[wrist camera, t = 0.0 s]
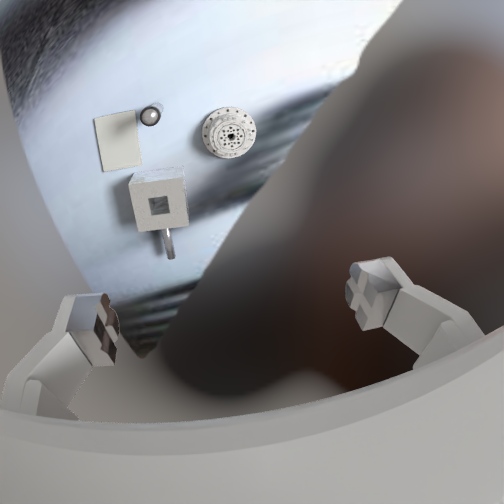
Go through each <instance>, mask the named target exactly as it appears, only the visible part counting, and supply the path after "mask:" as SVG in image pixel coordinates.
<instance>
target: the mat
mask: <svg viewBox="0 0 504 504" xmlns="http://www.w3.org/2000/svg"><path fill="white" fill-rule="evenodd" d="M95 126H96V132H97V138H98V144H99V149H100V155H101V160H102V165H103V170H104V172H106V171H111V170H117V169H123V168H129V167H135V166H141V165H142V158H141V151H140V144H139V137H138V129H137V121H136V112H135V110H132V111H126V112H121V113H116V114H111V115H107V116H102V117H98V118H95Z"/></svg>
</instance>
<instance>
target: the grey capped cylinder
mask: <svg viewBox="0 0 504 504" xmlns="http://www.w3.org/2000/svg"><path fill="white" fill-rule="evenodd" d="M162 111H163V106H162V104H160V103H154V104H153V105H151V106H148V107H146V108H145V109H144V110H143V111H142V112H141V114H140V120H141V122H142V123H143V124H144V125H146V126H154V125H155V124H157V123H158V121H159V120H160V118H161V113H162Z"/></svg>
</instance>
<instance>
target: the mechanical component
mask: <svg viewBox="0 0 504 504" xmlns="http://www.w3.org/2000/svg"><path fill="white" fill-rule="evenodd" d="M227 109H229V111H226V110H227ZM237 110H238V111H237ZM236 111H237V112H236ZM218 112H219V114H218ZM245 114H246V116H244V115H245ZM210 118H212V119H211V120H210ZM250 122H251V123H250ZM206 126H207V127H206ZM233 129H234V130H233ZM237 129H238V130H237ZM223 130H224V131H223ZM227 130H228V131H227ZM252 130H254V131H252ZM223 134H224V135H223ZM228 134H231V135H230V136H228ZM233 134H234V137H233V138H232V139H230V138H228V137H232V136H233ZM204 135H207V136H204ZM221 137H222V138H221ZM255 137H256V127H255V124H254V121H253V119H252V118H251V117H250V116H249V115H248V114H247V113H246V112H245V111H243V110H241V109H239V108H235V107H223V108H220V109H218V110H216V111H214V112H213V113H211V114H210V115H209V117H208V118H207V119H206V121H205V123H204V125H203V128H202V138H203V141H204V144H205V146H206V147H207V149H208V150H209V151H210V152H212V153H213V154H214V155H216V156H219V157H221V158H234V157H238V156H240V155H242V154H244V153H245V152H247V151H248V150H249V149H250V147H251V146H252V145H253V143H254V141H255ZM217 138H218V139H217ZM224 143H225V144H224ZM213 150H214V151H213Z"/></svg>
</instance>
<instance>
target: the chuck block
mask: <svg viewBox="0 0 504 504" xmlns="http://www.w3.org/2000/svg"><path fill="white" fill-rule="evenodd" d="M128 186H129V191H130V196H131V201H132V205H133V210H134V214H135V219H136V223H137V227H138V231H139V232H143V231H151V230H159V229H162V234H163V239H164V244H165V249H166V253H167V258H168V259H174V258H175V257H176V256H175V251H174V246H173V241H172V235H171V230H170V228H175V227H184V226H189V207H188V199H187V191H186V182H185V173H184V166H181V167H172V168H165V169H157V170H150V171H143V172H137V173H134V174H133V176H132V178H131V180H130V182H129V184H128Z"/></svg>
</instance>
